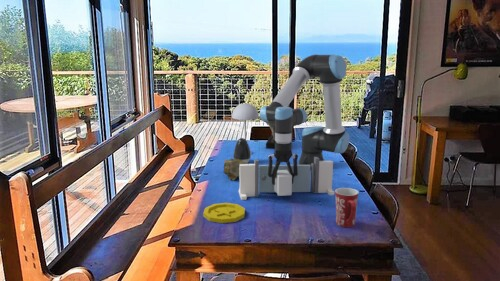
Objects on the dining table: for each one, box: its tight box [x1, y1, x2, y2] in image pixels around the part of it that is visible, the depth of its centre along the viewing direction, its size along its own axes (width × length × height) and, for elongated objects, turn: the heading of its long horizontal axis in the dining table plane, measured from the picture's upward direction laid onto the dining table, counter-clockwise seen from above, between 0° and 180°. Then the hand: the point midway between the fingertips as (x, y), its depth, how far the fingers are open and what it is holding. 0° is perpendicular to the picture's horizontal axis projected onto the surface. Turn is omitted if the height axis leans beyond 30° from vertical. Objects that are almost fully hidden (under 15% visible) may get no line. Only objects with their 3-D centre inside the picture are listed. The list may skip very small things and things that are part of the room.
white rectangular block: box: [275, 170, 293, 197], centre depth 189 cm, size 6×10×9 cm, turn 9°
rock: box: [223, 158, 249, 182], centre depth 220 cm, size 19×10×10 cm
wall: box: [238, 157, 336, 201], centre depth 194 cm, size 44×10×17 cm, turn 98°
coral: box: [258, 115, 276, 150], centre depth 287 cm, size 25×20×22 cm
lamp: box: [231, 102, 260, 155], centre depth 264 cm, size 17×17×33 cm
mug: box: [334, 187, 360, 228], centre depth 160 cm, size 13×9×14 cm
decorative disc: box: [203, 202, 246, 224], centre depth 172 cm, size 17×18×2 cm
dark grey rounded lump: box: [232, 137, 252, 163], centre depth 244 cm, size 10×10×15 cm
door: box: [259, 163, 314, 193], centre depth 195 cm, size 26×3×14 cm, turn 92°
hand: (282, 190), depth 190 cm, fingers closed on white rectangular block, 6 cm apart
